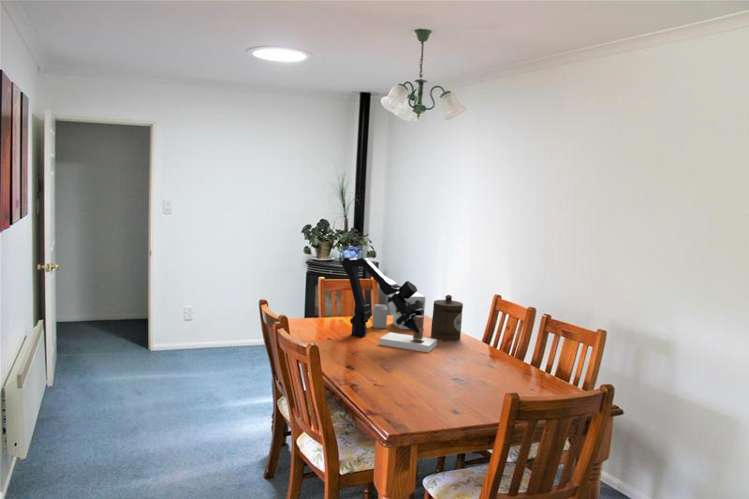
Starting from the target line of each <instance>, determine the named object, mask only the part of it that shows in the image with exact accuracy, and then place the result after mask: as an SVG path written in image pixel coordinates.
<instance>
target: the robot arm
mask: <svg viewBox="0 0 749 499" xmlns="http://www.w3.org/2000/svg"><path fill="white" fill-rule="evenodd" d="M341 266H342V268H343V271H344V273H345V274H346V275H347V276H348V280H349V283H350V288H351V291H352V295H353V300H354V309H353V311H354V315H353V316H352V317H350V319H349V321H350V324H351V333H350V336H352V337H359V338H363V337H365V336H367V331H368V326H367V323H368V322H369V320H370V319H371V317H372V316H373V310H372V308H371V307H372V306H371V304H367V302H366V301H365V297H364V293H363V292H364V291H363V288H362V284H361V281H360V278H359V277H360V276H359V270H360V267H362V268H363V269H364V270H365V271H366V272H367V273H368V274H369V275H370V277H371V278H373V279H374V280H375V281H376V283H377V284H378V286H379V289H380V291H381V292H382V293H383V295H386V296H388V297H387V303H388V304H389V303H393V306H394V305H395V306H396V308H397V309H398V310H397V312H400V313H401V316H400V317H399V318H398V319H397V320H396V323H397V324H398V326H399V325H401V324H402V322H404V324H403V326H406V327H408V328H409V329H408V330H411V331H415V332H416V333H419V330H418V328H417V326H416V325H415V323H414V318H415V316H422V314H423V313H424V314H425V310H424V311H423V310H422V309H420V308H423V306H422V305H423V303H422V301H421V300H417V301H416V302H415V303H414V304H411V303H410V302H409V303H407V301H406V300H405V299H409V298H410V297H411V296H412V295H414V294H415V293H416V292H417V293H418V289H417V288H418V287H417V286H416V285H415V284H413V283H412V282H410V281H409V280H406V281H405V282H404V283H403V284H402V285H398V284H397V283H396V281H394V280H392V279H391V278H389V277H387V276H385V275H384V274H383V273H382V272H381V270H379V269H378V267H377V266H376V265H375V264H374V263H373V262H372V261H371V260H370V258H367V257H364V258H357V257H355V256H350V257H348V256H347V257H345V258H343V260H342V261H341ZM396 292H399V293H397V294H395V293H396ZM390 295H391V296H390ZM417 309H418V310H417ZM424 330H425V329H424V328H423V331H424Z"/></svg>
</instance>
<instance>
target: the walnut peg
mask: <svg viewBox="0 0 749 499" xmlns="http://www.w3.org/2000/svg"><path fill="white" fill-rule="evenodd" d="M424 321H425V316H424V317H423V316H415V318H414V323H415V325H416V326H417V328H418V330H419V333H416V332H415V331H413V330H412V331H413V333H412V336H413V339H414V342H415V343H421V340H422V339H423V338H422V337H423V334H424V330H423V329H424V323H425V322H424Z"/></svg>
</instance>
